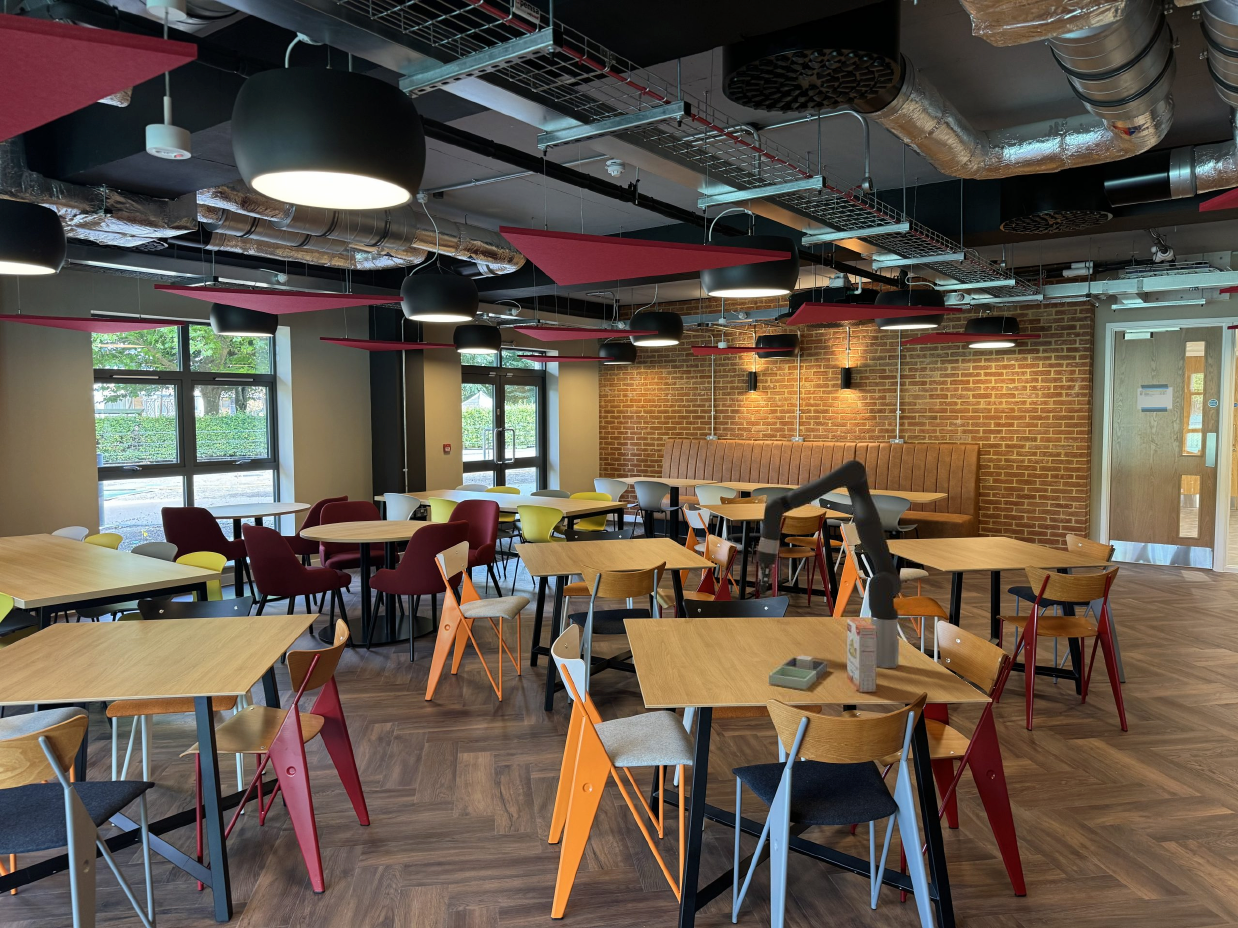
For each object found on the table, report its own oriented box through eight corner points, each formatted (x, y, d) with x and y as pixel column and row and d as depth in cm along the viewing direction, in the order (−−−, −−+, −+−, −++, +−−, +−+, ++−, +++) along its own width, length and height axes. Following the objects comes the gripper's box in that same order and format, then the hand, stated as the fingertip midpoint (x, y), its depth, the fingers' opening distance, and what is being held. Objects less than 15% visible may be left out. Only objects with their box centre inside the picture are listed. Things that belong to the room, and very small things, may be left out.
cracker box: (845, 679, 264) (846, 617, 263) (863, 679, 264) (864, 618, 263) (857, 692, 250) (858, 627, 249) (876, 692, 250) (877, 627, 249)
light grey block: (812, 671, 271) (813, 656, 271) (809, 674, 267) (809, 660, 267) (800, 669, 273) (800, 655, 273) (796, 672, 270) (796, 658, 269)
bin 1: (816, 681, 261) (816, 671, 261) (805, 691, 251) (805, 680, 251) (780, 675, 267) (781, 665, 267) (768, 685, 257) (768, 674, 257)
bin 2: (827, 672, 273) (827, 662, 272) (817, 680, 262) (817, 670, 262) (792, 666, 279) (793, 657, 279) (781, 675, 268) (781, 665, 268)
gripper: (780, 555, 291) (773, 597, 292) (775, 549, 305) (768, 589, 306) (760, 551, 292) (753, 594, 293) (756, 546, 306) (749, 586, 307)
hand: (761, 592), depth 299 cm, fingers open, 8 cm apart
